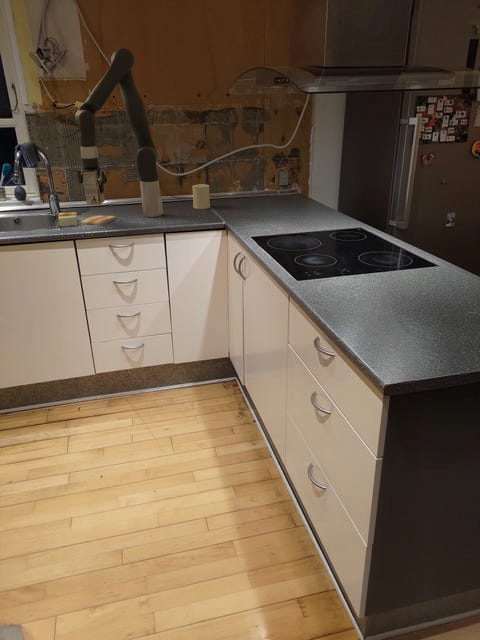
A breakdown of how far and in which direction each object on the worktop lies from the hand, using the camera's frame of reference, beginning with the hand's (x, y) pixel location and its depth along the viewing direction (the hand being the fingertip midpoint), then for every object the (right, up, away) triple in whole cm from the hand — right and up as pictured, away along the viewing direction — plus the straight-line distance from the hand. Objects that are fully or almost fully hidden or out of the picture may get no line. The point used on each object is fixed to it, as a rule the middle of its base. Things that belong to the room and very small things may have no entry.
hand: (94, 192), depth 233 cm
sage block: (-12, -16, 0) cm, 20 cm away
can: (+49, 0, +31) cm, 58 cm away
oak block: (-15, -12, +7) cm, 21 cm away
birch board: (0, -12, +6) cm, 14 cm away
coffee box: (0, -5, +2) cm, 5 cm away
